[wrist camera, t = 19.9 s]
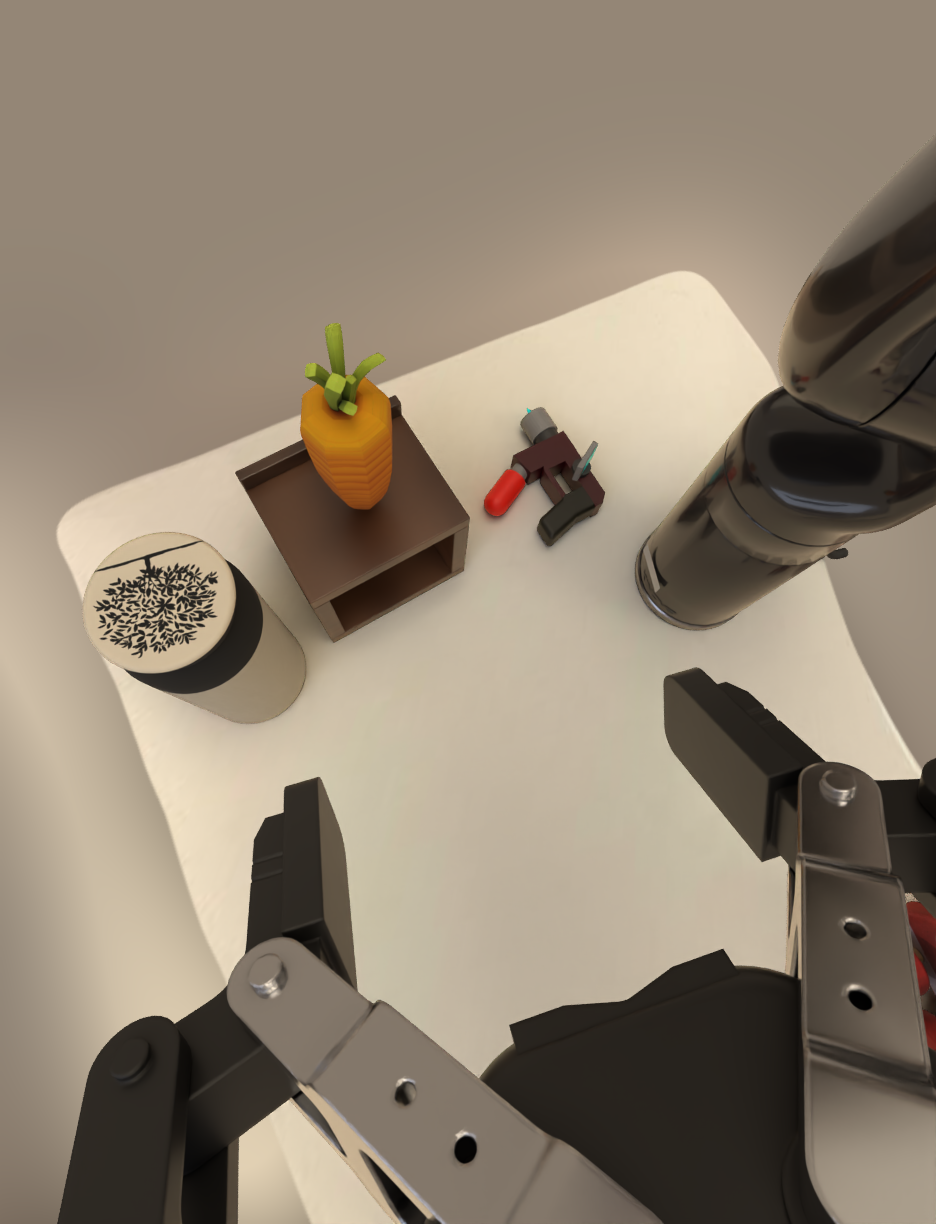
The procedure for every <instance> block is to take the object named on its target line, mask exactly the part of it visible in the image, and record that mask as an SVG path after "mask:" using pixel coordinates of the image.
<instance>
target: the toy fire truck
mask: <svg viewBox="0 0 936 1224" xmlns="http://www.w3.org/2000/svg"><path fill="white" fill-rule="evenodd" d="M906 906H907V912H908V919H909V925H910V932H911V939H912V945H913V952H914V958H915V965H916V972H917V978H918V985H919V991H920V996H922V995H924V994H926V992H927V991H928V990H929V987H930V986H931V988H932V990H933V992H934V994H935V996H936V919H935V918H934V917H933V916H932V915H931V914H930V913H929V912H928V911H927V909H926V908H925V907H924V906H923V905H922V904H921V903H920V902H914V901H911V902H908V903H907V904H906ZM922 1011H923V1018H924V1024H925V1031H926V1037H927V1044H928V1047H930V1048H932V1049H934V1050H935V1051H936V1016H935V1015H934V1014H932V1013H931V1012H929V1011H926V1010H923V1009H922Z"/></svg>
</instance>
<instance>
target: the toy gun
mask: <svg viewBox="0 0 936 1224" xmlns="http://www.w3.org/2000/svg"><path fill="white" fill-rule="evenodd" d="M527 412H528V414H527V415H526V416H525V417H524V418H523V419H522V421H521V424H520V425H521V427H522V429H523V430H524V432H525V433H526V435H527V436H528V438H529V439H530V441H531V442H532V444H533V446H531V447H529V448H527V449H525V450H523V451H521V452H519V453H517V454H515V455H513V459H512V464H511V470H506V471H505V472H504V473H503V475H502V476H501V477H500V479H499V480H498V481H497V483H496V484H495V485H494V487H493V488H492V489H491V490H490V492H489V493H488V494H487V496H486V497H485V500H484V506H485V509H486V511H487V512H488V513H490V514H491V515H494V516H499V515H502V514H504V513H505V512H506V511H507V509H508V508H509V507H510V505H511V504H512V503H513V501H514V500H515V499H516V497H517V496H518V495H519V493H520V492H521V491H522V489H523V488H524V487H525V482H526V483H527V484H530V483H532V482H534V481H536V480H538V479H540V483H541V485H542V486H543V488H544V490H545V491H546V493H547V494H548V496H549V497H550V499H551V500H552V502H553V503H554V505H555V506H554V507H553V508H552V509H551V510H549V511H548V512H547V513H546V514H545V515H544V516H543V517H542V518H541V519H540V521H539V524H538V527H537V531H538V532H539V534H540V536H541V537H542V539H543V540H544V542H545V543H546V545H547V546H551V545H553V544H554V543H555V542H556V541H557V540H558V539H559V538H560V537H561V536H562V535H563V534H564V533H565V532H566V531H567V530H569V529H570V528H571V527H572V526H573V525H574V524H575V523H577V522H579V521H581V520H583V519H585V518H587V517H589V516H590V517H592V516H593V515H595V514H597V512H598V510H599V509H600V507H601V505H602V503H603V499H604V495H605V492H604V490H603V489H602V487H601V486H600V484H599V483H598V481H597V480H596V478H595V477H594V476H593V474H592V473H591V471H590V469H591V465H590V463H589V462H590V460H591V458H592V457H593V455H594V452H595V450H596V448H597V446H598V443H597V442H595V441H593V442H592V444H591V446H590V447H589V449H588V450H587V452H586V454H585V455H584V457H583V458H581V457H580V455H579V454H578V452H577V451H576V449H575V447H574V446H573V444H572V443H571V441H570V440H569V438H568V437H567V435H566V434H565V433H564V431H562V432H560V433H558V432H557V427H556V425H555V424H554V422H553V421H552V419H551V418H550V416H549V415H548V413H547V412H546V410H545V409H544V408H542V407H540V408H536V409H534V410H532V411H531V410H529V409H528V408H527ZM560 473H561V475H562V476H563V478H564V479H565V481H566V482H567V484H568V485H569V487H570V488H571V490H572V492H570V493H568V494H565V493H564V491H563V490H562V488H561V487H560V485H559V484H558V482H557V481H556V479H555V478H554V476H556V475H558V474H560Z"/></svg>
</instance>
